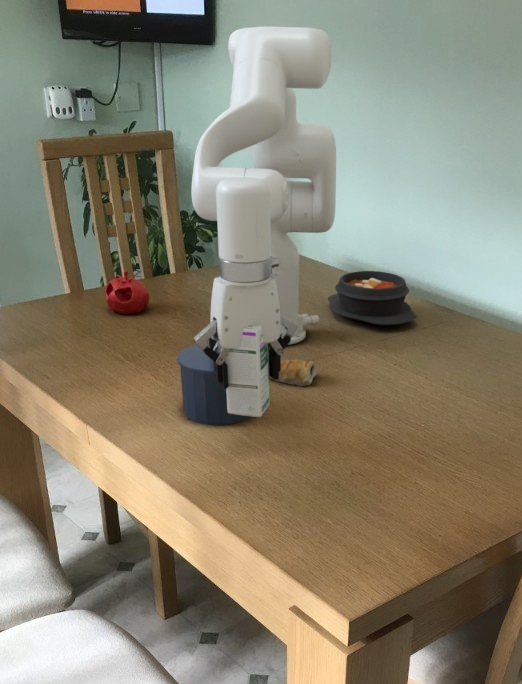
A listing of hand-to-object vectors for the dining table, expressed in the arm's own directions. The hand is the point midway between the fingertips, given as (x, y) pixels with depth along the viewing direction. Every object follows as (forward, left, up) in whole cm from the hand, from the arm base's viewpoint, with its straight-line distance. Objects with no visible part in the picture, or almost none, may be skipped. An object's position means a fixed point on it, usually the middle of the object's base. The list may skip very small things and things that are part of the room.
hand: (248, 380), depth 128 cm
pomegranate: (-1, -73, -11) cm, 74 cm away
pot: (0, -13, -11) cm, 17 cm away
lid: (0, -13, -1) cm, 13 cm away
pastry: (-18, -20, -11) cm, 29 cm away
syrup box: (0, 0, -5) cm, 5 cm away
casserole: (-51, -47, -11) cm, 70 cm away
